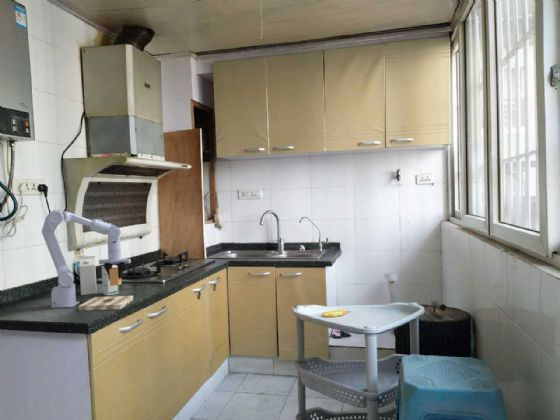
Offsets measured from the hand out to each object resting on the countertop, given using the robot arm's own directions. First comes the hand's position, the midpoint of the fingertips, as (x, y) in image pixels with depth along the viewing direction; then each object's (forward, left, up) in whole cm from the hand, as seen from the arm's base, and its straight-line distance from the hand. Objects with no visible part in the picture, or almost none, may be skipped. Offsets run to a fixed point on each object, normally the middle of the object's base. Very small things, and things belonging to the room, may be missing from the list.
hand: (115, 278), depth 198 cm
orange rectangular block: (0, 0, -3) cm, 3 cm away
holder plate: (0, -11, -10) cm, 15 cm away
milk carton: (-20, +15, -10) cm, 27 cm away
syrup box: (-7, +11, -10) cm, 16 cm away
